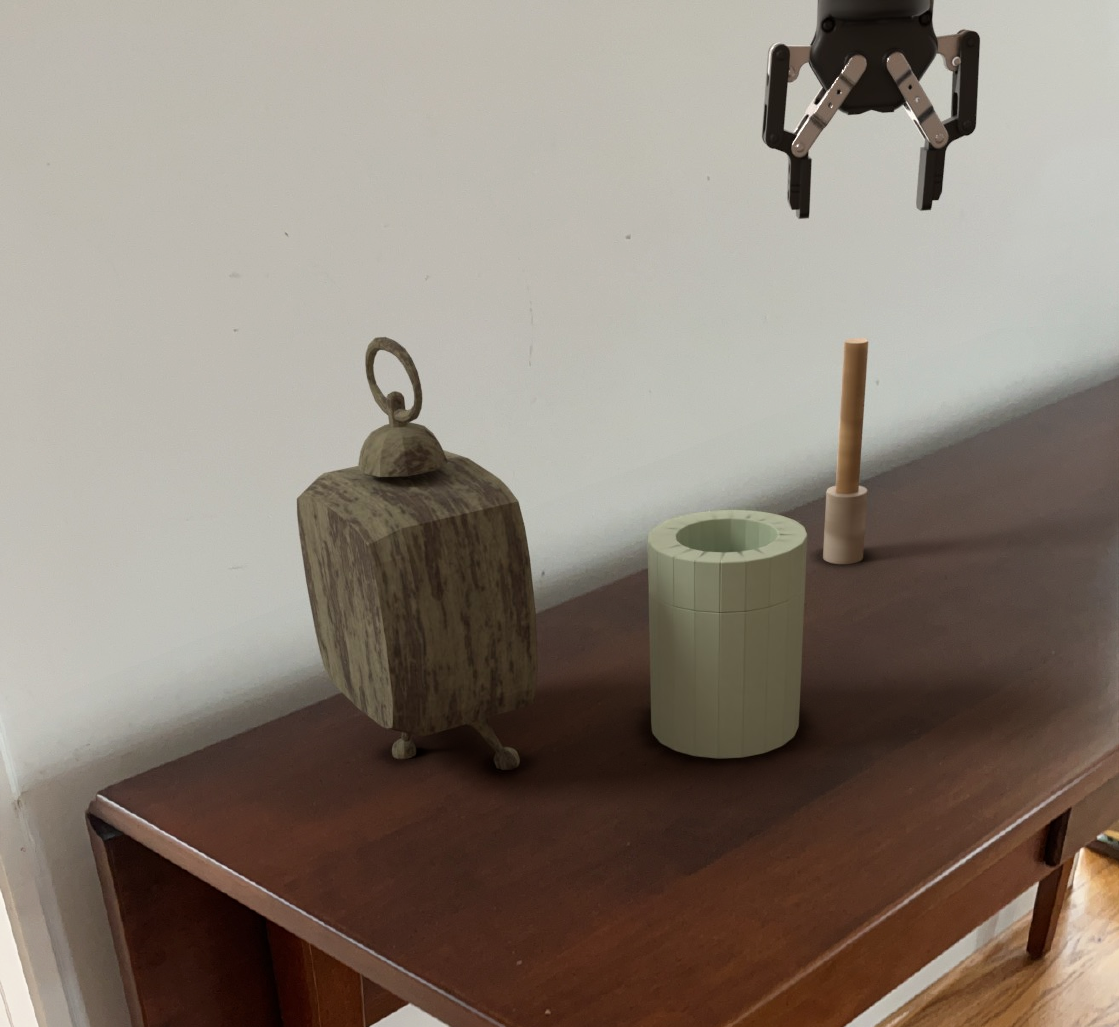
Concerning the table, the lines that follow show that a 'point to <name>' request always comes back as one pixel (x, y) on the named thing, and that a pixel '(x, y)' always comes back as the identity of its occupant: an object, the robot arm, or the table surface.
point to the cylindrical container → (726, 631)
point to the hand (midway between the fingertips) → (862, 213)
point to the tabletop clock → (420, 581)
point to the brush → (848, 464)
